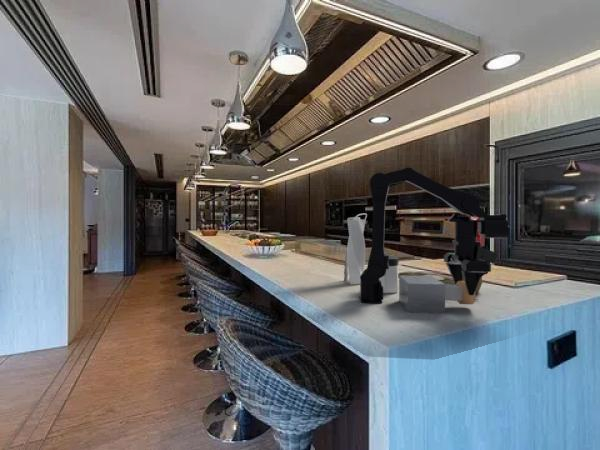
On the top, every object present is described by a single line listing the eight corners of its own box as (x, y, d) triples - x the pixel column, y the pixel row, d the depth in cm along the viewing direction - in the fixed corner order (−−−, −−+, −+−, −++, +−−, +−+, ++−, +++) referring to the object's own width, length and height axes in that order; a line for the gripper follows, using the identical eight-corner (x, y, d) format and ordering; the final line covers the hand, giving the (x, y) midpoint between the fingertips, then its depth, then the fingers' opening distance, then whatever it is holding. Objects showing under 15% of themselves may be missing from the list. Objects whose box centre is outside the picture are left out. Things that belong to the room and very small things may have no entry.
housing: (407, 312, 89) (407, 283, 89) (399, 300, 101) (399, 275, 101) (444, 313, 88) (445, 284, 88) (431, 301, 100) (432, 276, 100)
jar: (403, 291, 114) (404, 257, 113) (390, 294, 108) (390, 259, 108) (382, 286, 120) (383, 255, 120) (368, 290, 115) (369, 256, 115)
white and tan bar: (423, 305, 91) (423, 282, 91) (417, 299, 98) (417, 278, 98) (475, 307, 90) (475, 283, 90) (465, 300, 96) (466, 279, 96)
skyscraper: (363, 281, 132) (364, 213, 131) (368, 285, 124) (369, 213, 123) (343, 281, 131) (343, 213, 130) (347, 285, 123) (347, 213, 122)
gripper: (513, 240, 83) (511, 300, 83) (480, 235, 101) (479, 284, 102) (467, 240, 84) (466, 299, 84) (443, 235, 102) (442, 283, 103)
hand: (464, 291), depth 93 cm, fingers open, 9 cm apart
